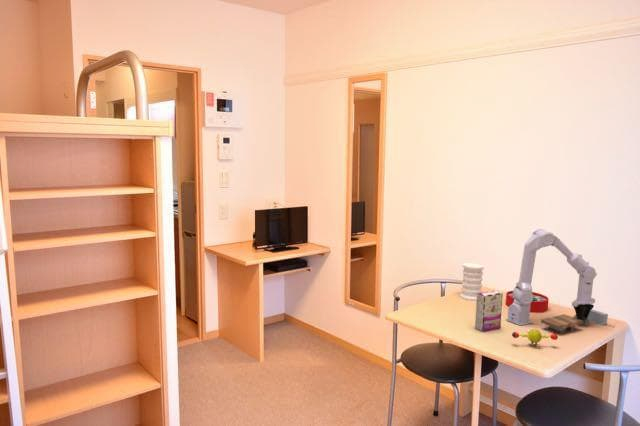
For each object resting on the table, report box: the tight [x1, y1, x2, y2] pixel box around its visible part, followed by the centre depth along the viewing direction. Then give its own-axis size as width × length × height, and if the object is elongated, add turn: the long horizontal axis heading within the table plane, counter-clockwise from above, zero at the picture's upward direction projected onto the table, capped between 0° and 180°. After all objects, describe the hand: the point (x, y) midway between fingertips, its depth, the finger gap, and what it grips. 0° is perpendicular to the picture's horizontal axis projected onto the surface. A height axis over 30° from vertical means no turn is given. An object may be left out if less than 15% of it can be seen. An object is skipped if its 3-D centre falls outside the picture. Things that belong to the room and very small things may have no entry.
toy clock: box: [505, 290, 549, 314], centre depth 244 cm, size 20×6×20 cm
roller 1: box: [548, 325, 567, 334], centre depth 210 cm, size 3×6×3 cm, turn 29°
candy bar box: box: [474, 289, 504, 333], centre depth 209 cm, size 11×5×16 cm, turn 117°
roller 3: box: [572, 314, 591, 326], centre depth 219 cm, size 3×6×3 cm, turn 29°
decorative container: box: [459, 262, 485, 302], centre depth 255 cm, size 12×12×18 cm
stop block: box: [588, 308, 609, 326], centre depth 224 cm, size 3×10×5 cm, turn 29°
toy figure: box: [511, 328, 559, 347], centre depth 192 cm, size 18×6×7 cm, turn 88°
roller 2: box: [565, 325, 576, 331], centre depth 214 cm, size 3×6×3 cm, turn 29°
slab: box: [540, 314, 583, 329], centre depth 211 cm, size 16×9×2 cm, turn 119°
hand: (581, 319), depth 219 cm, fingers open, 3 cm apart
